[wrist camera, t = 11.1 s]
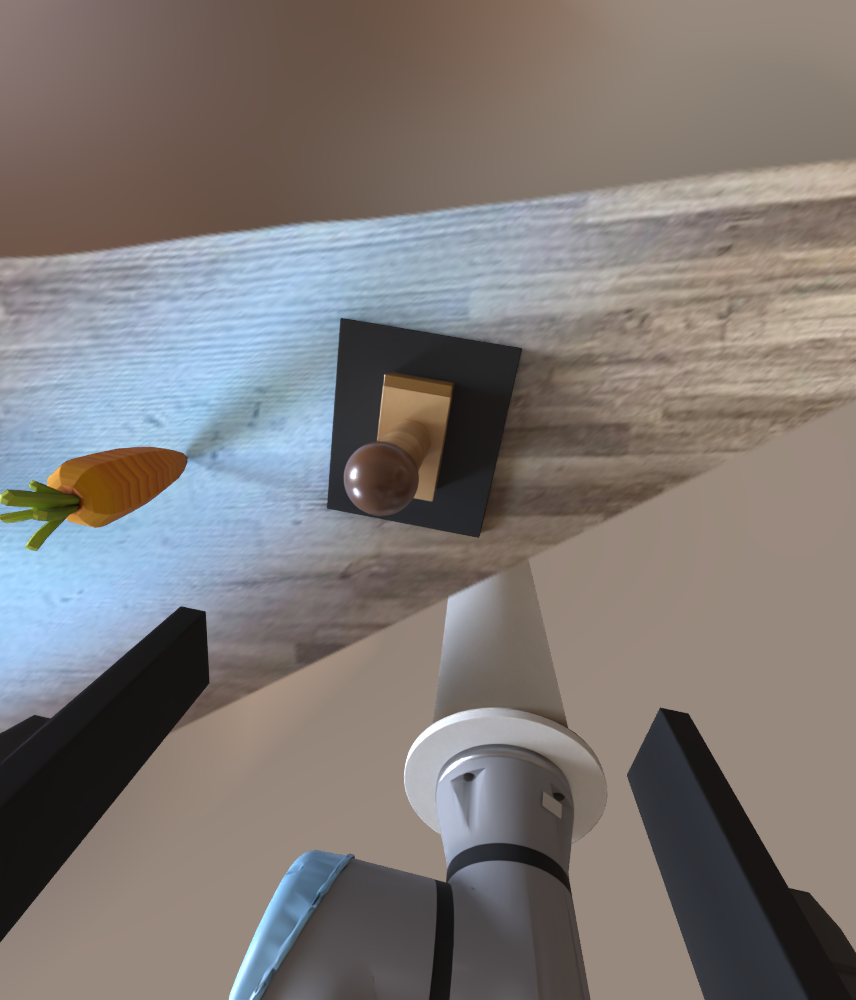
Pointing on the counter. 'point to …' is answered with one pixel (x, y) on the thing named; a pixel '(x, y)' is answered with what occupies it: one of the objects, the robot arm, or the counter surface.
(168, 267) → the counter surface
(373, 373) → the mat
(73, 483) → the carrot
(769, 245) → the counter surface
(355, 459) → the stamp
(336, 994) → the robot arm
